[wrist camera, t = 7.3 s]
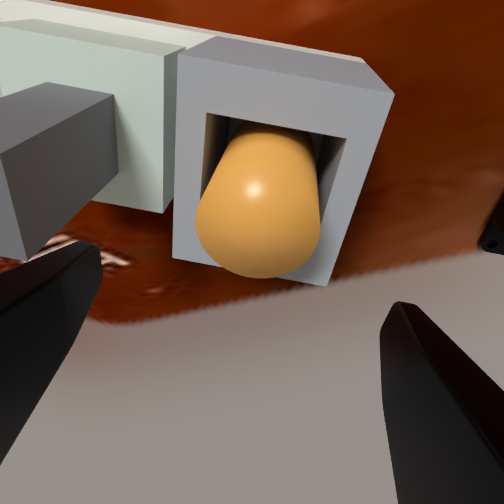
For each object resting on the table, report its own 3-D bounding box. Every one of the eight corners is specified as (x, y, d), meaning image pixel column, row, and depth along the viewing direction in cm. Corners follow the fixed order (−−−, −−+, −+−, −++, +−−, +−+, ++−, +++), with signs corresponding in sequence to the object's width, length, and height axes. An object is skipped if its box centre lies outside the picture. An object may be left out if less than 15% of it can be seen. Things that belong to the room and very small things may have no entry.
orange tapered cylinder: (324, 121, 14) (335, 184, 9) (303, 202, 15) (304, 287, 11) (233, 104, 14) (199, 158, 9) (224, 187, 15) (192, 266, 11)
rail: (361, 58, 16) (394, 94, 10) (319, 202, 20) (326, 286, 14) (-234, -52, 16) (-534, -78, 10) (-154, 113, 20) (-337, 161, 14)
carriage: (186, 46, 14) (70, 98, 7) (180, 185, 18) (98, 313, 11) (35, 19, 14) (-228, 42, 7) (59, 162, 18) (-104, 274, 11)
